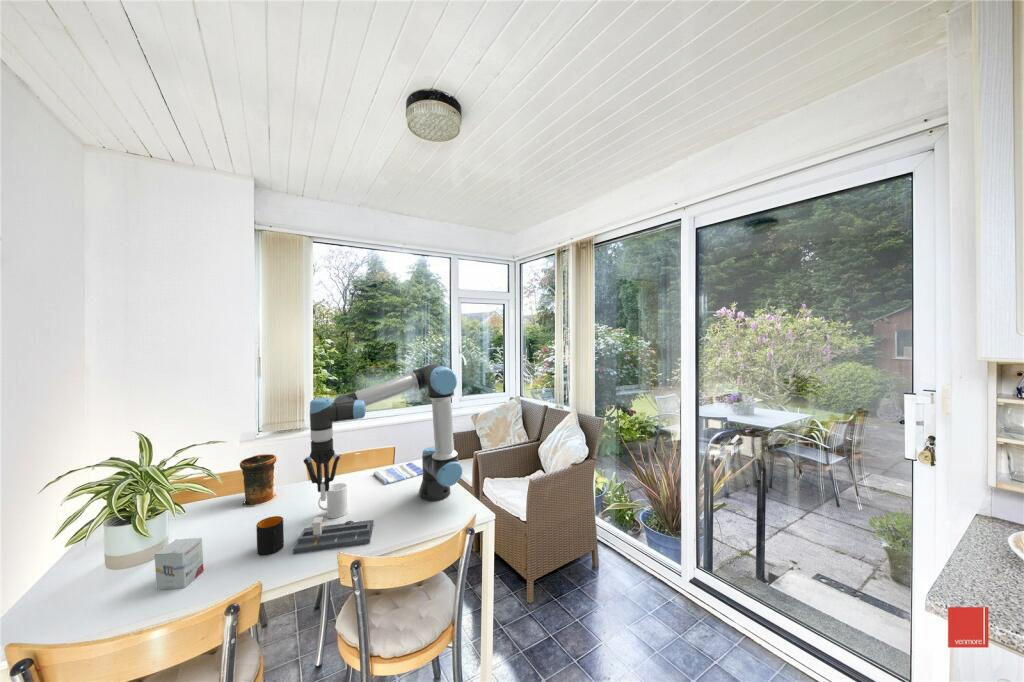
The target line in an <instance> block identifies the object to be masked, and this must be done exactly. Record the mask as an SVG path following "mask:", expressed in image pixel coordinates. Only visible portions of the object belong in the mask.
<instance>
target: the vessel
mask: <svg viewBox="0 0 1024 682" xmlns="http://www.w3.org/2000/svg"><path fill="white" fill-rule="evenodd" d="M276 462H277V456H276V455H275V454H271V453H270V454H269V453H267V454H266V453H263V454H257V455H253V456H251V457H250V456H249V457H248V458H247V457H246V458H243V459H242V460H241V461H240V462H239V467H240V469H241V470H242V475H243V487H244V488H243V489H244V498H245V499H244V501H245V500H246V501H245V503H244V501H242V504H241V506H243V507H246V508H247V507H248V508H251V507H257V506H260V505H264V504H265V505H266V504H267V503H271V501H273V500H274V499H275V498H276V496H277V494H276V493H274V486H275V483H274V479H275V476H274V470H275V468H276V467H275V463H276ZM273 494H275V495H273Z"/></svg>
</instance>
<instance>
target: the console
mask: <svg viewBox="0 0 1024 682" xmlns="http://www.w3.org/2000/svg"><path fill="white" fill-rule="evenodd" d="M374 522H375V521H374V519H370V520H362V521H361V520H360V521H354V520H348V521H346V522H344V523H336V524H329V525H322V534H320V535H313V526H311V527H305V528H303V530H302V531H301V533H300V535H299V537H298V538H297V540H296V543H295V544H294V546H293V548H292V555H298V554H306V553H312V552H313V553H314V552H319V551H321V552H322V551H326V550H335V549H336V550H337V549H342V548H343V549H344V548H350V547H356V546H364V545H370V543H371V539H372V538H371V537H372V533H373V529H374V524H375V523H374Z"/></svg>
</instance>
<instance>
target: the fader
mask: <svg viewBox="0 0 1024 682" xmlns="http://www.w3.org/2000/svg"><path fill="white" fill-rule="evenodd" d="M323 520H324V517H323V516H319V517H314V518H313V520H312V521H311V527H313V535H320V534H322V526H323Z"/></svg>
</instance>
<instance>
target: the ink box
mask: <svg viewBox="0 0 1024 682" xmlns="http://www.w3.org/2000/svg"><path fill="white" fill-rule="evenodd" d="M203 556H204V555H203V539H202V537H198V538H197V537H189V538H181V539H179V538H177V539H174V540H173V541H172V542H170V543H169V544H168V545H166V546H165V547H163V548H162V549H160V550H159V551H157V552H156V553H155V554H154V567H155V584H156V587H155V588H156V590H157V591H161V590H174V589H175V590H176V589H185V588H187V587H188V585H190V584H191V583H192V582H193V581H194V580H196V578H197V577H198V576H199V575H200V574H201V573H203V572H204V557H203Z"/></svg>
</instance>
